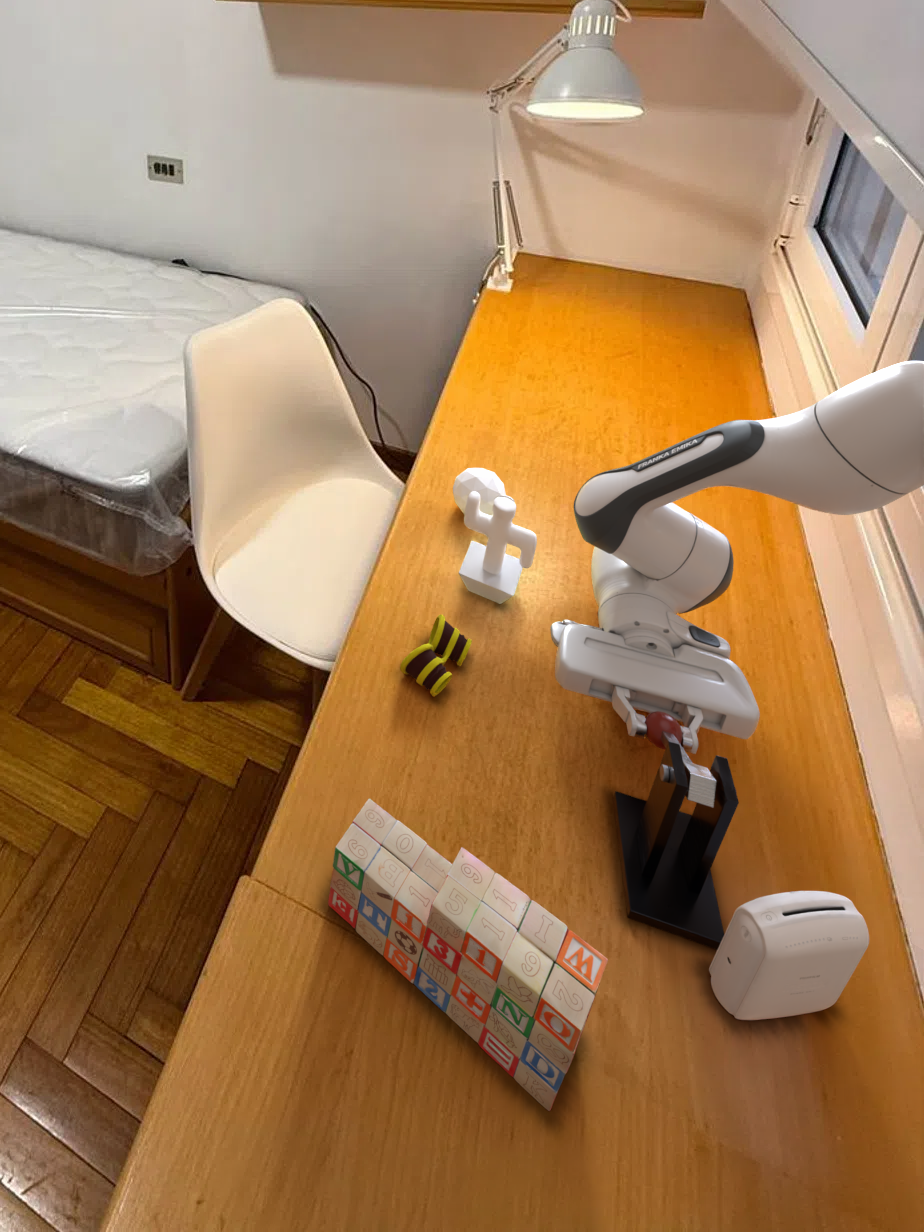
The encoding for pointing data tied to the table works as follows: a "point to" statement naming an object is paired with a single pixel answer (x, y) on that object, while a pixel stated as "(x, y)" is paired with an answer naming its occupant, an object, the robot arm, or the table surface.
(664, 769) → the bracket
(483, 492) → the geometric ball
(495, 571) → the figurine
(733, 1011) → the photo printer
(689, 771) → the lever
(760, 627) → the table surface
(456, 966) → the stack of blocks
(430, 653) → the opera glasses
